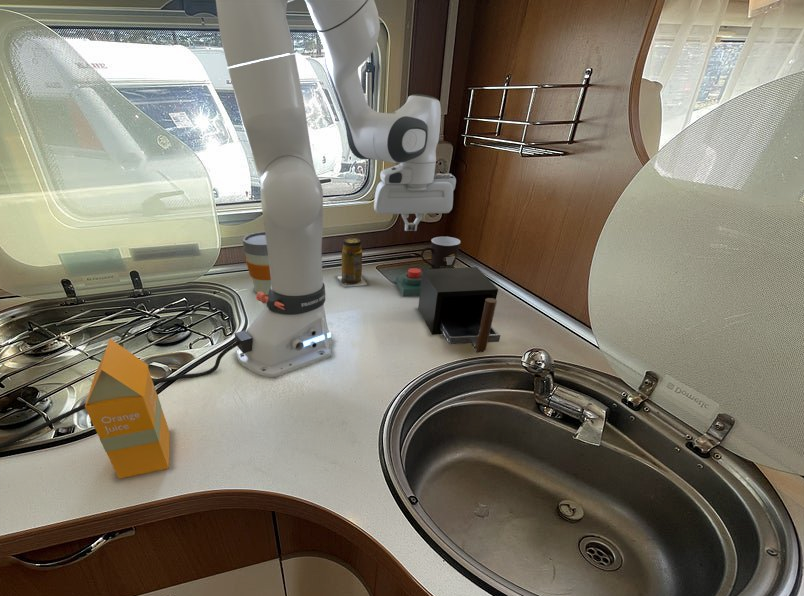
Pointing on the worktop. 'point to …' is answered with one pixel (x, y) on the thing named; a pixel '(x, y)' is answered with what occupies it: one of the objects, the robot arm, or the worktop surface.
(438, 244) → the coffee mug
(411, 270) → the stop button
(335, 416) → the worktop surface
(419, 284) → the control box
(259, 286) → the reusable coffee cup
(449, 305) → the oven
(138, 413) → the orange juice
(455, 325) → the tray
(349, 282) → the condiment
